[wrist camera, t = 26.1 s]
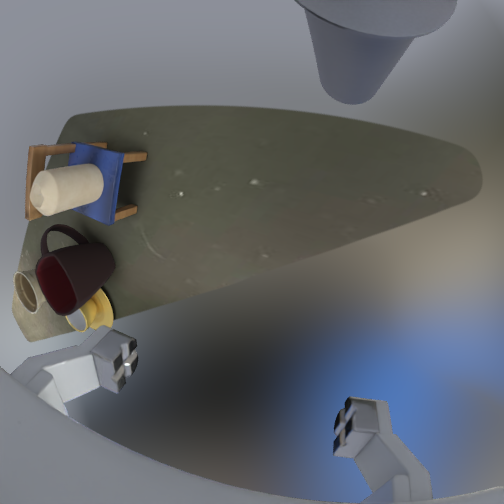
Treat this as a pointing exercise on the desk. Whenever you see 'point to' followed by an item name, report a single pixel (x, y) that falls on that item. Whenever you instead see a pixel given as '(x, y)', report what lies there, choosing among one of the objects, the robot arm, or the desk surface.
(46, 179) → the candle
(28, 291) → the flower pot
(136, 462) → the robot arm
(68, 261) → the mug
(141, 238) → the desk surface
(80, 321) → the cup
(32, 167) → the chair
